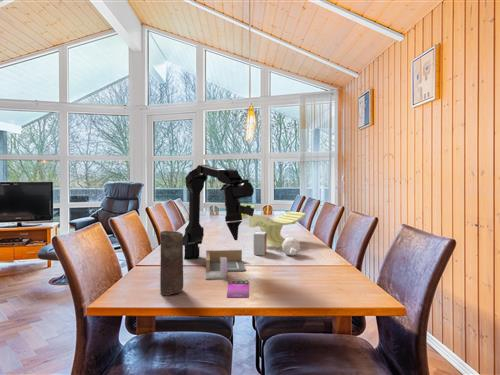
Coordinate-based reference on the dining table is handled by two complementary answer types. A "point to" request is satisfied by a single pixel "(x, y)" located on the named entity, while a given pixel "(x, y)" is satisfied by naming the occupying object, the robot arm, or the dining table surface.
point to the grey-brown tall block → (171, 262)
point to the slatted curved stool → (275, 225)
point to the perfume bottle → (291, 246)
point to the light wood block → (221, 273)
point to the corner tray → (232, 260)
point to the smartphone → (238, 289)
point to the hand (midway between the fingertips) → (236, 239)
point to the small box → (260, 243)
